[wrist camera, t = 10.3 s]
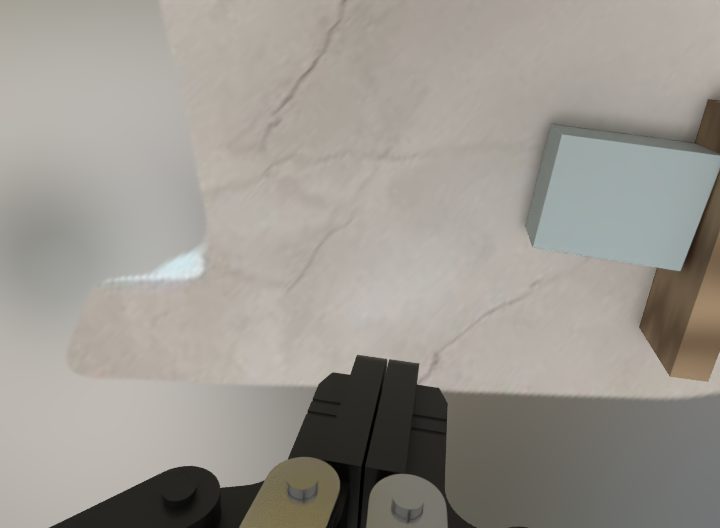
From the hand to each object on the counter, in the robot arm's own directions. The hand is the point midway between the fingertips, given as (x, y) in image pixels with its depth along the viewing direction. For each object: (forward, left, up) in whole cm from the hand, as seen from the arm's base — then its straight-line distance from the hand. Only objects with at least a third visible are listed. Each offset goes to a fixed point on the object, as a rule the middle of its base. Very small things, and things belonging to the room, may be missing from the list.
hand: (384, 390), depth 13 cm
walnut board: (+4, +19, -31) cm, 37 cm away
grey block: (+2, +13, -31) cm, 34 cm away
